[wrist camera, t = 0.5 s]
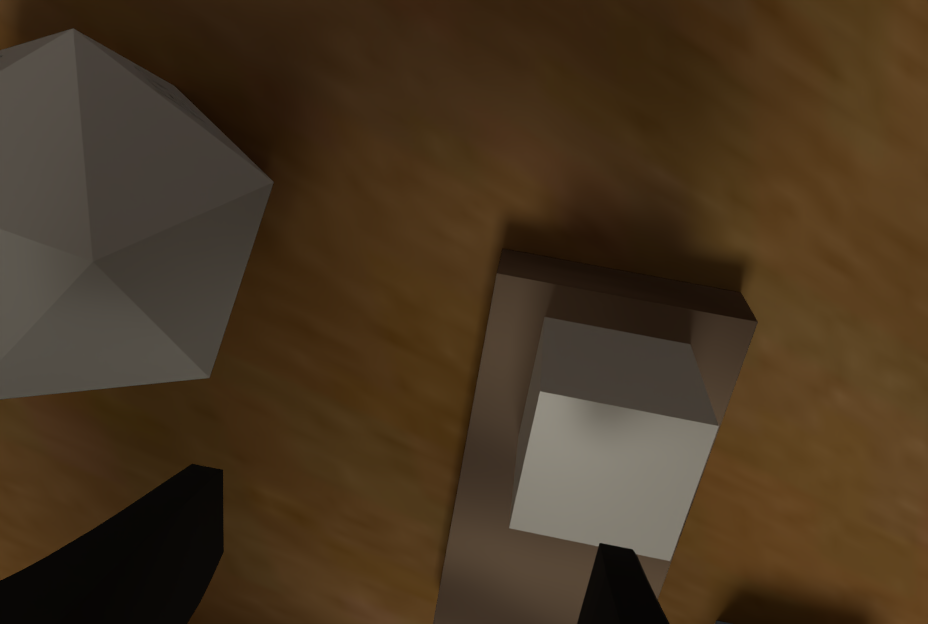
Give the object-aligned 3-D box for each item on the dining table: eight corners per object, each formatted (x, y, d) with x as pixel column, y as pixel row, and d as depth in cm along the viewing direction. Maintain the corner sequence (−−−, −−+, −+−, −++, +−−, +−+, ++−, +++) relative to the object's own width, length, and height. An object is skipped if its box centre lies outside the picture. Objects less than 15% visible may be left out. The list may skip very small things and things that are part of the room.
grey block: (652, 462, 21) (670, 561, 18) (518, 436, 21) (509, 528, 18) (690, 344, 20) (718, 426, 16) (544, 316, 20) (540, 391, 16)
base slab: (623, 633, 27) (628, 680, 25) (439, 594, 27) (430, 637, 25) (740, 292, 21) (757, 322, 19) (502, 248, 21) (497, 273, 19)
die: (353, 101, 21) (-25, -112, 12) (327, 415, 20) (-95, 426, 11) (160, 132, 25) (-219, -9, 16) (133, 392, 24) (-280, 387, 16)
